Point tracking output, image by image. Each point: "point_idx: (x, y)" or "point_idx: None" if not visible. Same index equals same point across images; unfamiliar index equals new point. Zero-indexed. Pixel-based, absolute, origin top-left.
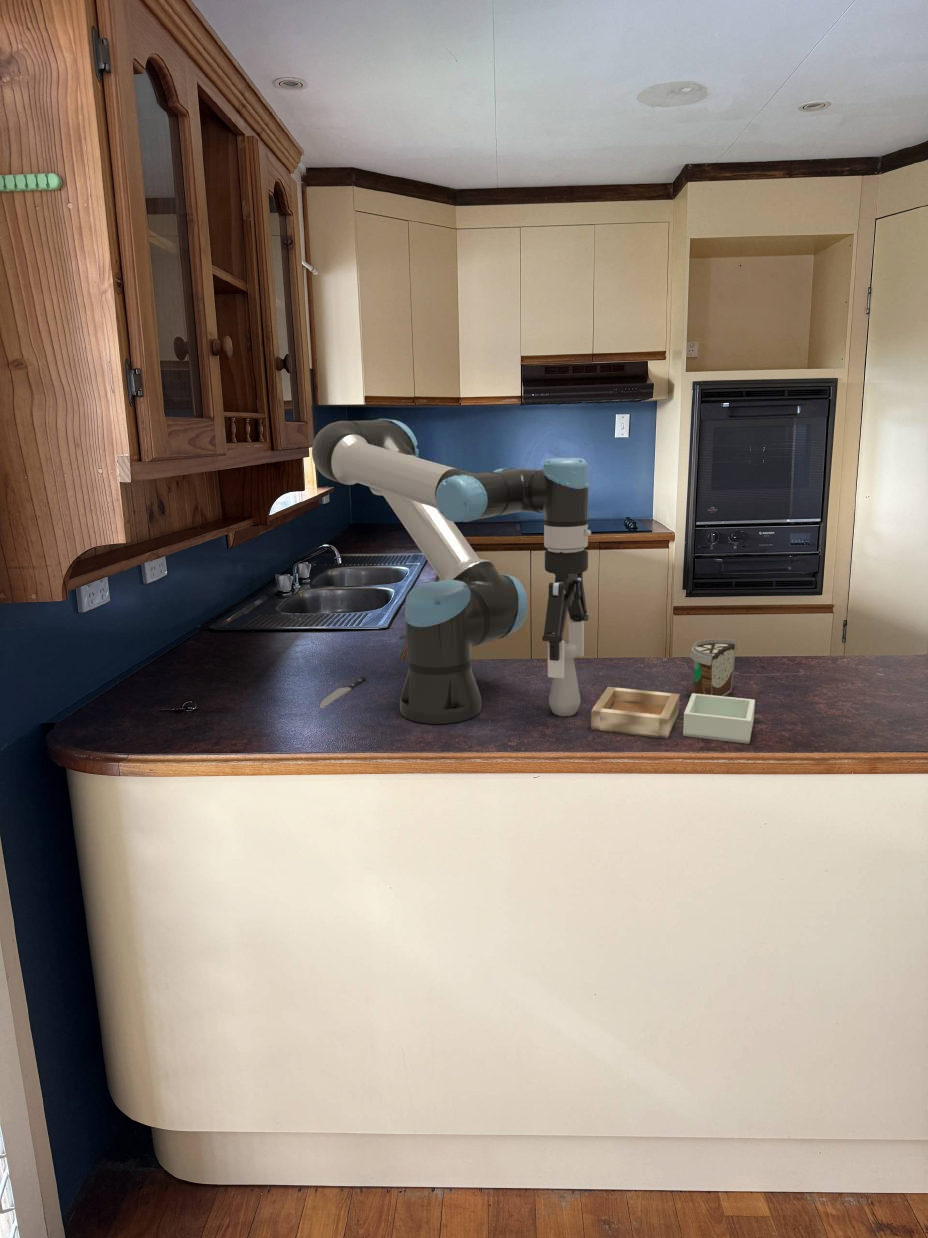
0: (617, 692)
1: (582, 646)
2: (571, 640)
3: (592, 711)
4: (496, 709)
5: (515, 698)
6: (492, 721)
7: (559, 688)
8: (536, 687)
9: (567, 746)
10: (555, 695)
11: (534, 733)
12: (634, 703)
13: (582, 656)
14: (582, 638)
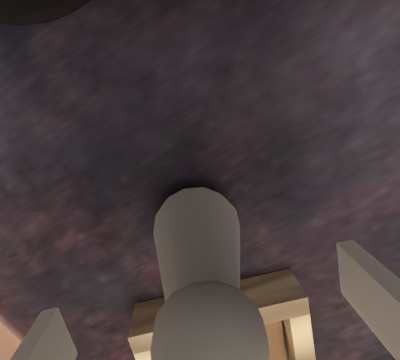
0: (288, 321)
1: (365, 322)
2: (380, 295)
3: (129, 337)
4: (114, 47)
5: (224, 47)
6: (31, 90)
7: (157, 256)
8: (338, 53)
9: (26, 306)
10: (157, 233)
11: (38, 221)
12: (281, 338)
13: (341, 291)
14: (392, 352)
